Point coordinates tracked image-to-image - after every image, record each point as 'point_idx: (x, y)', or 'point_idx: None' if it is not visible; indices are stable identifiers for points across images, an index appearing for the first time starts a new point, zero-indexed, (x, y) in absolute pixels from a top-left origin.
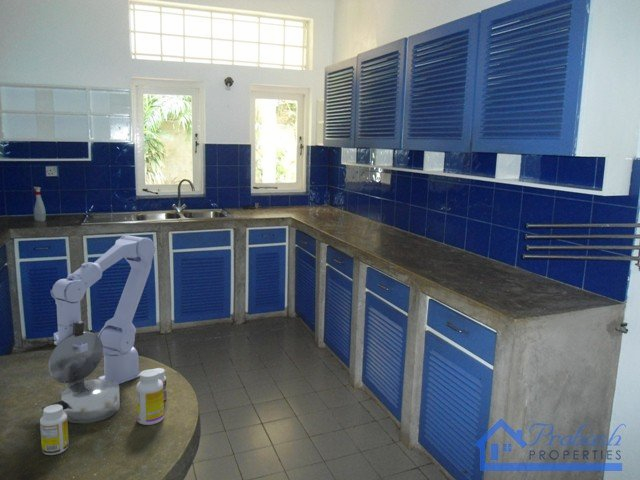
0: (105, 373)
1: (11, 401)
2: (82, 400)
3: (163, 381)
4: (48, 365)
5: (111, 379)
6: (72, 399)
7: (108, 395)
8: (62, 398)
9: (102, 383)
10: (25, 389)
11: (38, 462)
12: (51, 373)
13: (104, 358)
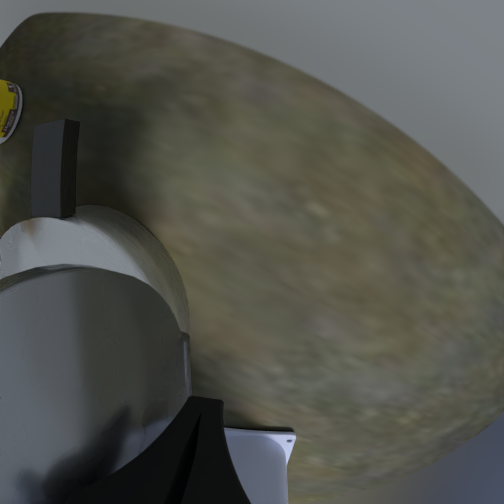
0: (255, 455)
1: (415, 164)
2: (6, 262)
3: None
4: (35, 285)
5: (227, 443)
6: (27, 243)
7: None
8: (58, 222)
9: None
10: (453, 255)
11: (4, 70)
12: (70, 264)
13: (256, 500)
